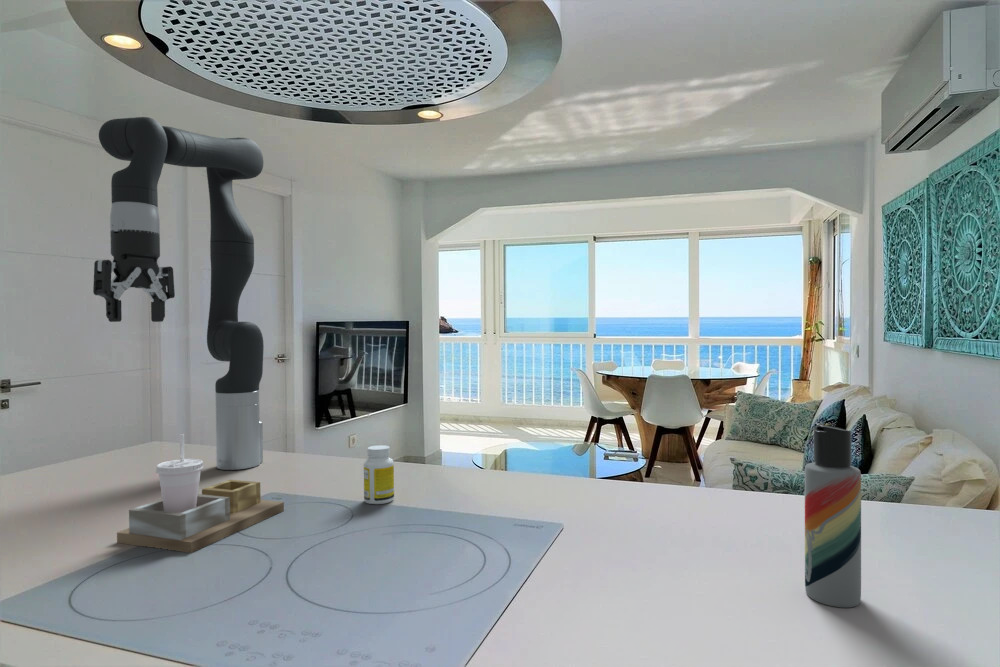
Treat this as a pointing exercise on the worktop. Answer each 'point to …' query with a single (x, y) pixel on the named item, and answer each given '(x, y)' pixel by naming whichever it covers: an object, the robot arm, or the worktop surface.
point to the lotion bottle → (833, 521)
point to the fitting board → (199, 518)
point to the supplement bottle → (378, 476)
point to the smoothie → (179, 482)
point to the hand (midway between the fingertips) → (136, 321)
